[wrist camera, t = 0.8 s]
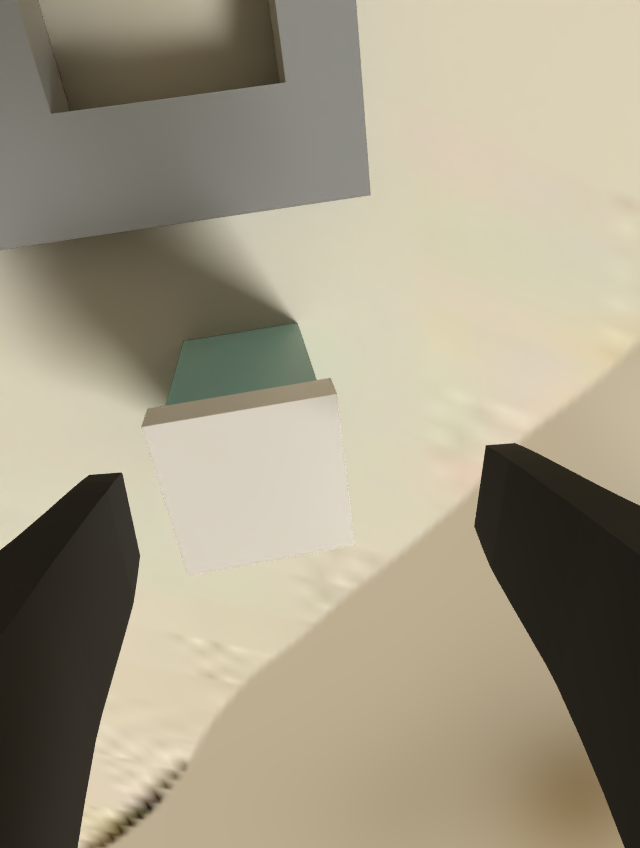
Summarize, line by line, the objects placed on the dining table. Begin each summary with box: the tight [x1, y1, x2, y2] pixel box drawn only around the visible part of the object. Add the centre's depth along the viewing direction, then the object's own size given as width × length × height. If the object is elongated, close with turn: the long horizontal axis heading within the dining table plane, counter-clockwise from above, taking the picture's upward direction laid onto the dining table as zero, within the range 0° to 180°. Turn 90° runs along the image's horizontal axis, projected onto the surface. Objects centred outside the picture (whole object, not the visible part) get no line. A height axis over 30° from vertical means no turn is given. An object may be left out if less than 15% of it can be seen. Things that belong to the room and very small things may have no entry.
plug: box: [141, 323, 355, 576], centre depth 17 cm, size 5×5×7 cm
